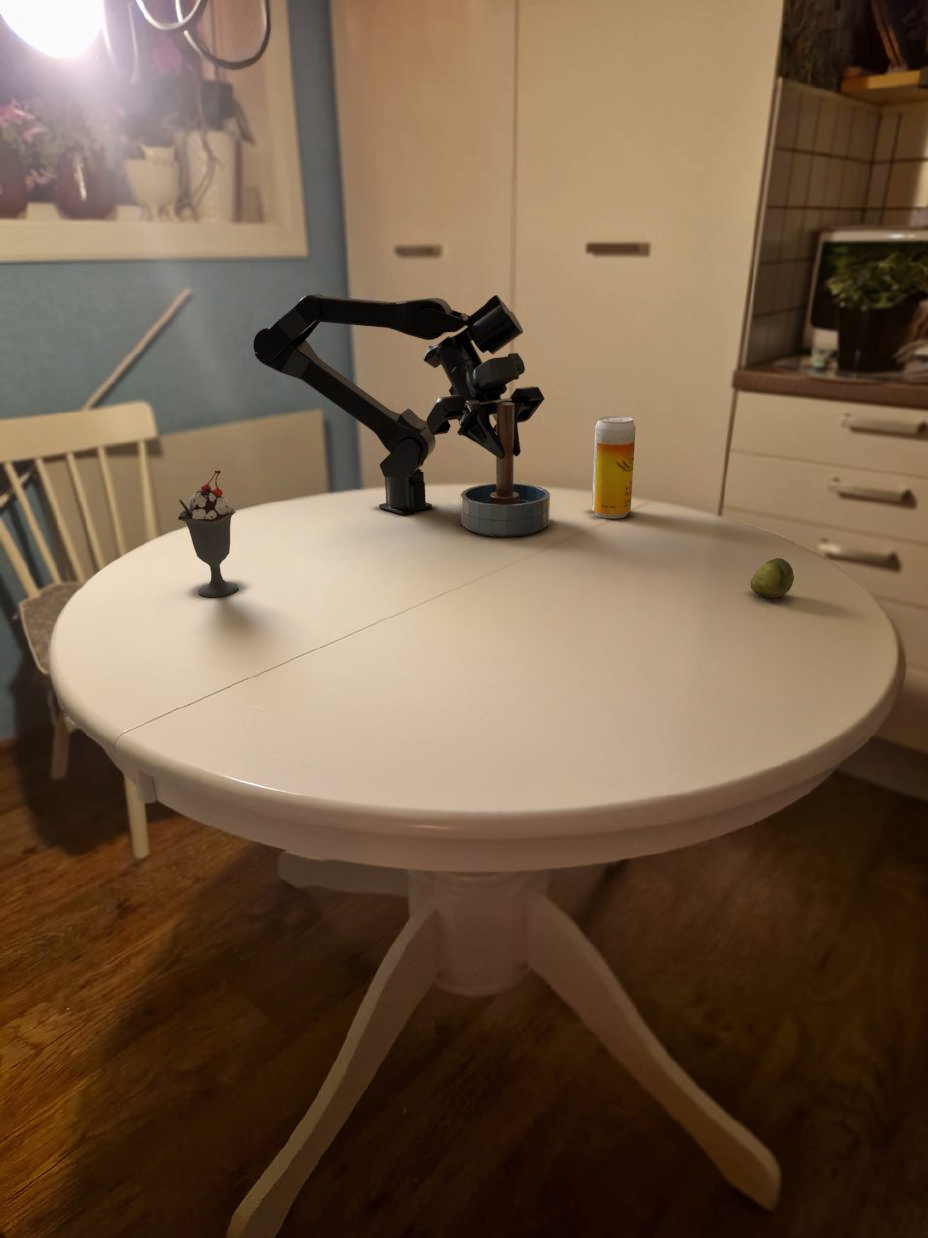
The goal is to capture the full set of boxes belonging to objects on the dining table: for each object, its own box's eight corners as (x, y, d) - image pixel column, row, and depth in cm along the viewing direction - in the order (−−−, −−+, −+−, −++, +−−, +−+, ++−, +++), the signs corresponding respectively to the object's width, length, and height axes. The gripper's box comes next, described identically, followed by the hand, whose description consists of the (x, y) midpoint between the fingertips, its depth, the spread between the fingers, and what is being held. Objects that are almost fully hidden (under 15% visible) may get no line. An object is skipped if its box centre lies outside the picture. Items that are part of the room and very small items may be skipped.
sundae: (255, 583, 111) (241, 468, 105) (225, 602, 105) (209, 480, 99) (211, 578, 113) (195, 464, 107) (180, 596, 107) (161, 477, 101)
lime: (746, 600, 103) (750, 560, 101) (758, 588, 106) (763, 549, 104) (784, 607, 100) (790, 567, 98) (795, 594, 104) (801, 555, 102)
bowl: (443, 526, 133) (442, 494, 131) (503, 508, 142) (503, 478, 140) (506, 544, 124) (506, 510, 122) (566, 524, 133) (567, 493, 131)
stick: (484, 503, 132) (484, 403, 126) (504, 498, 134) (504, 400, 129) (504, 509, 129) (505, 407, 123) (525, 503, 131) (526, 403, 126)
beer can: (633, 519, 135) (639, 422, 129) (594, 519, 135) (598, 422, 129) (627, 508, 140) (632, 415, 134) (589, 509, 140) (593, 415, 135)
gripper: (435, 338, 120) (483, 430, 116) (538, 331, 130) (585, 415, 126) (407, 390, 129) (450, 477, 125) (505, 379, 139) (548, 459, 135)
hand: (510, 455), depth 128 cm, fingers closed on stick, 2 cm apart
